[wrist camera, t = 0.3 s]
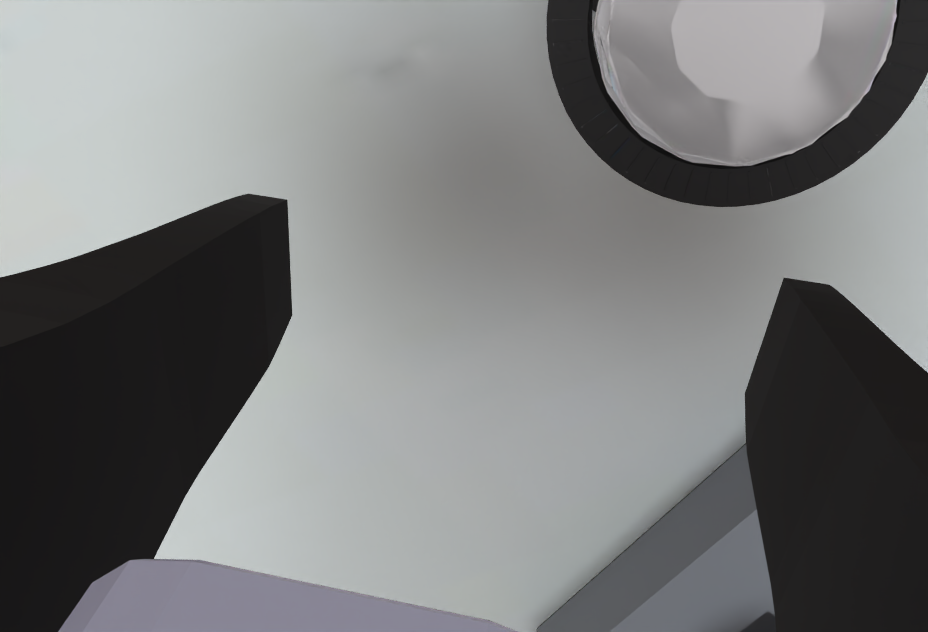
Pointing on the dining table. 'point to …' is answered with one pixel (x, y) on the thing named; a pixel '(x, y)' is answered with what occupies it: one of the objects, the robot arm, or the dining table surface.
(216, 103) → the dining table surface
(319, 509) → the dining table surface
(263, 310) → the robot arm
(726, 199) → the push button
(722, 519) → the knob panel
